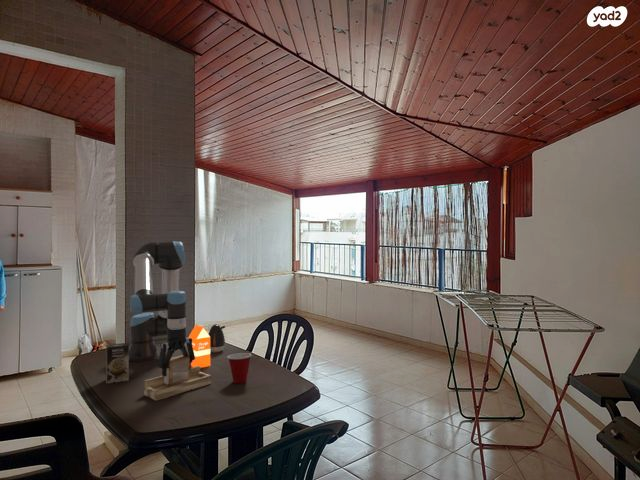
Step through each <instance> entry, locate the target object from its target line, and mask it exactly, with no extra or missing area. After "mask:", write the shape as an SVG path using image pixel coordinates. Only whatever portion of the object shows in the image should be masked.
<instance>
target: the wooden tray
mask: <svg viewBox="0 0 640 480" xmlns="http://www.w3.org/2000/svg"><path fill="white" fill-rule="evenodd" d="M143 382H144V384H143V388H144V396H146V397H148V398H150V399H152V400H153V401H160V400H162V399H167V398H170V397H172V396H177V395H179V394H181V393H185V392H188V391H191V389H192V390H195V389H198V388H201V387H204V386H207V385H211V384H212V375H211V374H208V373H205V372H202V371H201V368H200V366H196V367H192V366H191V369H190V380H189V381H185V382H182V383H178V384H175V385H172V386H170V385H167V384H165V383H164V376H162V375H159V376H156V377H152V378H148V379H145V380H144V381H143Z"/></svg>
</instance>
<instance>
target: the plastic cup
mask: <svg viewBox="0 0 640 480" xmlns="http://www.w3.org/2000/svg"><path fill="white" fill-rule="evenodd" d="M226 357H227V359H228V362H229V365H230V371H231V377H232V381H233V383H234V384H244V383H246V382H247V379H248V374H249V373H248V372H249V367H250V361H251V357H252V353H250V352H238V353H231V354H229V355H227V356H226Z"/></svg>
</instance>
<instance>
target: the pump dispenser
mask: <svg viewBox="0 0 640 480" xmlns="http://www.w3.org/2000/svg"><path fill="white" fill-rule="evenodd" d="M225 328H226V325H223V326H220V325H219V324H217V323H216V324H213V325H211V327H210V329H209V331H208V334H209V336H210V353H219V352H222V351H223V350H224V349H225V345H226V338H225V333H224V331H223V329H225Z"/></svg>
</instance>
